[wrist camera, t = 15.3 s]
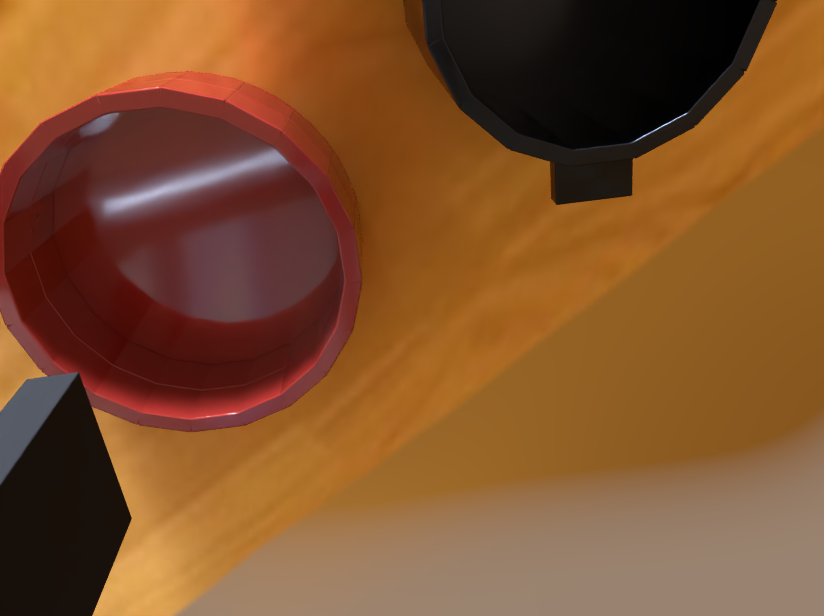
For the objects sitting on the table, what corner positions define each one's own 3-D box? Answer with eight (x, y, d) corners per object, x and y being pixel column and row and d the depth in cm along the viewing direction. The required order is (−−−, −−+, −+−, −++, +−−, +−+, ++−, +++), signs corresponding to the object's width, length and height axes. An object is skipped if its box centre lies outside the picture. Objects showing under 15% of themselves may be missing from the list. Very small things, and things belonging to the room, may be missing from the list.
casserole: (94, 387, 40) (53, 450, 35) (-6, 93, 34) (-76, 115, 28) (379, 351, 41) (381, 409, 35) (335, 51, 34) (330, 66, 28)
